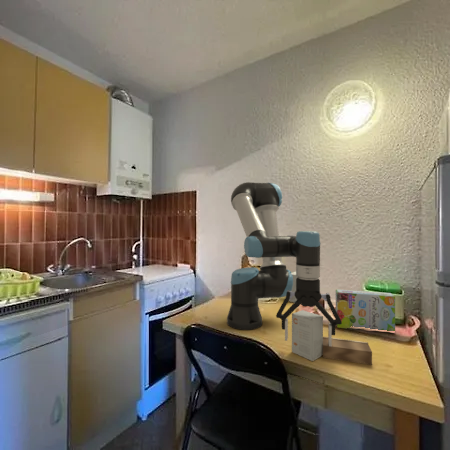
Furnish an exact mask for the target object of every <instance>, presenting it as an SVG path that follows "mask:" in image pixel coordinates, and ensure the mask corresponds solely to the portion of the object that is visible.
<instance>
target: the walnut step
mask: <svg viewBox="0 0 450 450" xmlns="http://www.w3.org/2000/svg"><path fill="white" fill-rule="evenodd" d="M322 357H323V358H324V359H325V358H326V359H331V360H337V361H342V362H343V361H344V362H350V363H356V364H364V365H368V366H369V365H370V366H371V365H373V351H372V348H371V347H370V345H369V342H367V341H359V340H353V339H352V340H351V339H343V338H337V337H332V347H331V346H329V344H328V336H323V355H322Z"/></svg>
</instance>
